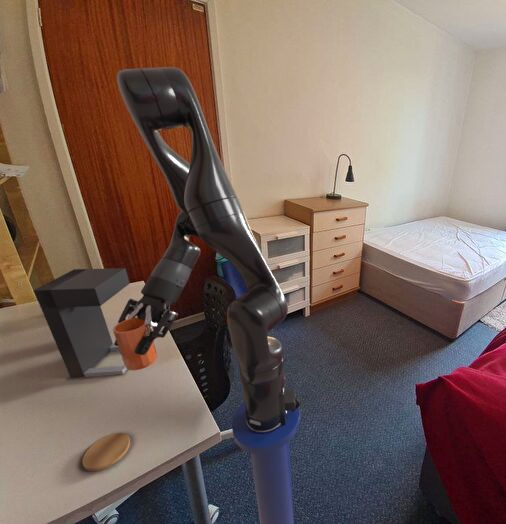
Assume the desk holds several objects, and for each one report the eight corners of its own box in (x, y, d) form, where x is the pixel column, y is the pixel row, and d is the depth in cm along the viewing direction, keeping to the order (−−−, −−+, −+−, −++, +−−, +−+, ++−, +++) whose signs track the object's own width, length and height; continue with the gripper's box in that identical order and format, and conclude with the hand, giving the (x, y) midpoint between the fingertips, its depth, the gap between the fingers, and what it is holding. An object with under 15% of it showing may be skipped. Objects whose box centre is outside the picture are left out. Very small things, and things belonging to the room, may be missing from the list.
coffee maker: (146, 344, 91) (125, 268, 81) (123, 374, 79) (94, 288, 69) (101, 347, 88) (74, 269, 79) (70, 378, 77) (33, 290, 67)
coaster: (137, 433, 63) (136, 430, 62) (116, 468, 56) (115, 466, 55) (99, 437, 61) (98, 434, 61) (73, 474, 55) (72, 471, 54)
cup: (161, 351, 68) (152, 316, 64) (149, 369, 63) (138, 331, 59) (134, 353, 67) (123, 318, 64) (119, 371, 62) (106, 333, 58)
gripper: (133, 269, 67) (90, 338, 61) (177, 280, 62) (135, 356, 56) (159, 281, 73) (123, 344, 67) (201, 291, 69) (165, 361, 63)
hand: (129, 349), depth 62 cm, fingers closed on cup, 6 cm apart
